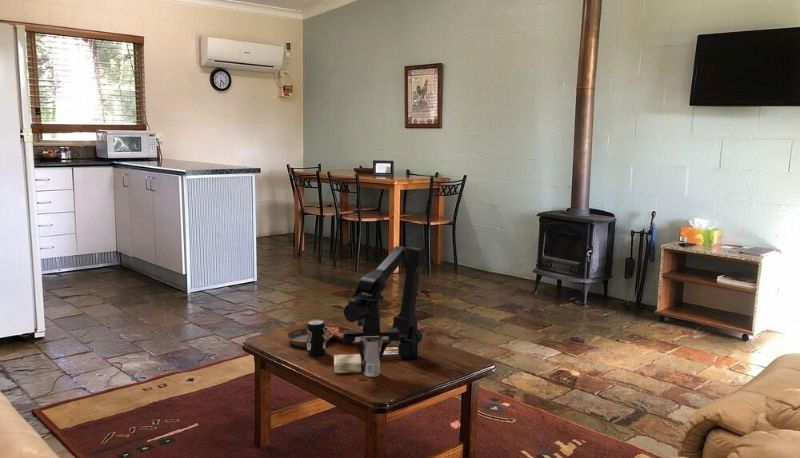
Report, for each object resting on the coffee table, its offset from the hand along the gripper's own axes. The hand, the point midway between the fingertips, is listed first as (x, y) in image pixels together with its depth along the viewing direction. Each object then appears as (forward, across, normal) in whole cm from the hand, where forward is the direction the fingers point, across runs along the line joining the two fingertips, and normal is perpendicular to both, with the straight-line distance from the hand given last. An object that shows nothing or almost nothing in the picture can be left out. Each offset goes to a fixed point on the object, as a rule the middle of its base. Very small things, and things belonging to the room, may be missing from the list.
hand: (371, 359), depth 208 cm
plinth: (+5, +8, -7) cm, 12 cm away
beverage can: (+5, +19, -22) cm, 30 cm away
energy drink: (+5, 0, 0) cm, 5 cm away
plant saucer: (+6, +22, -36) cm, 43 cm away
